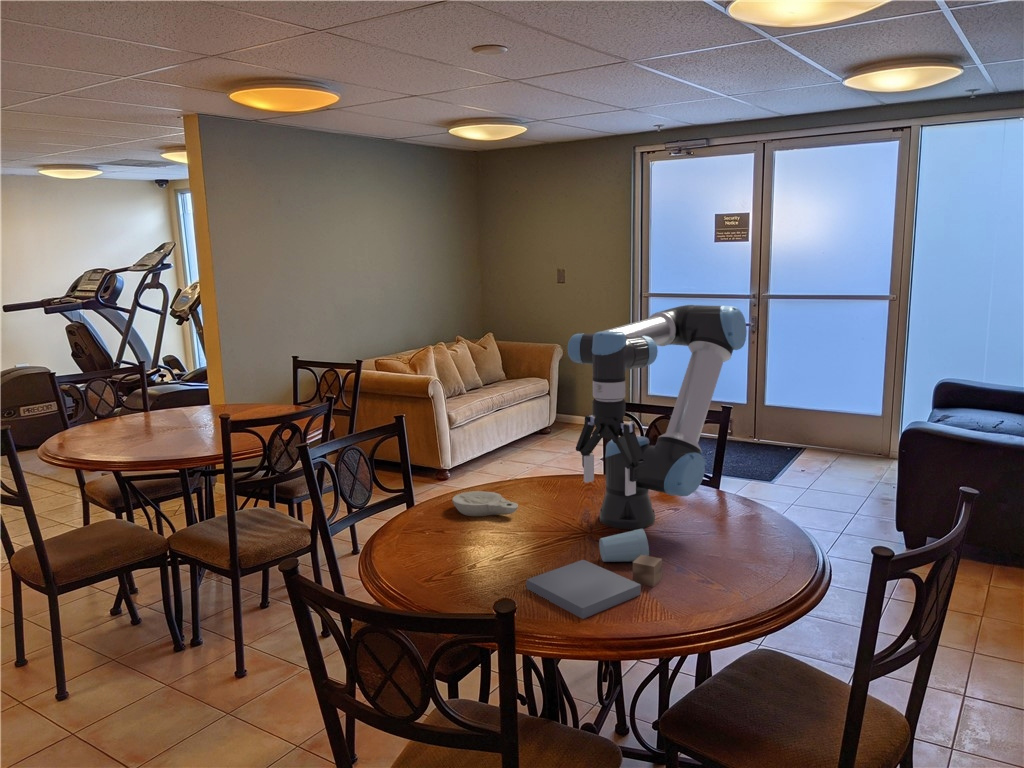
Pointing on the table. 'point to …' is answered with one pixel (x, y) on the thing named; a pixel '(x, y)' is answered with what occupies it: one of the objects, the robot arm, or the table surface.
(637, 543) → the cup
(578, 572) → the plinth
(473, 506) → the oil lamp
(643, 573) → the walnut block
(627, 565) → the table surface
